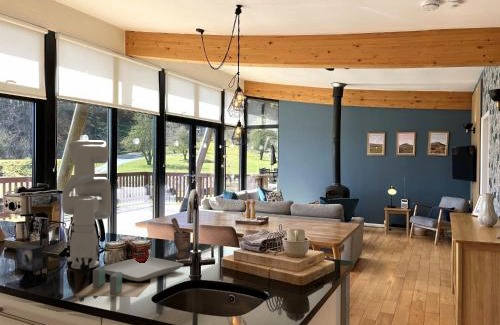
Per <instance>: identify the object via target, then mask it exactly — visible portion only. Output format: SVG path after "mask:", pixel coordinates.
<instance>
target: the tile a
mask: <svg viewBox="0 0 500 325" xmlns="http://www.w3.org/2000/svg"><path fill="white" fill-rule="evenodd" d="M104 266H105V265H98V266H97V267H95V268H94V269H92V283H93V288H99V287H100V286H102V285H103V284H104V283H106V274H105V267H104Z"/></svg>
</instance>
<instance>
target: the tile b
mask: <svg viewBox="0 0 500 325" xmlns="http://www.w3.org/2000/svg"><path fill="white" fill-rule="evenodd" d="M109 283H110V295H116V294H117V293H118V292H120V291H121V290H122V283H123V278H122V272H115V273H114V274H112V275H109Z"/></svg>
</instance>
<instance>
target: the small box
mask: <svg viewBox="0 0 500 325" xmlns="http://www.w3.org/2000/svg"><path fill="white" fill-rule="evenodd" d="M43 250H44V246H42V245H36V244H24V245H19V246H16V252H15V253H16V254H15V255H16V269H17V270H22V271H28V272H34V271H38V270H41V269H44V251H43Z"/></svg>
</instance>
